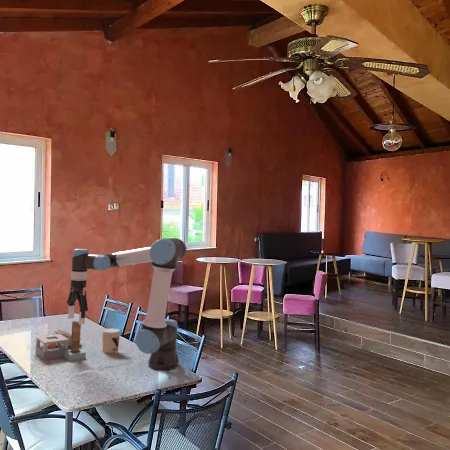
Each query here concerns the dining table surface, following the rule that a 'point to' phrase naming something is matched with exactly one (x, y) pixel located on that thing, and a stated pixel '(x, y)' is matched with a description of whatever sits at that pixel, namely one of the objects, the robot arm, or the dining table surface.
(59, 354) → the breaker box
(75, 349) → the brown wooden bar
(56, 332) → the bowl
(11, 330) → the dining table surface
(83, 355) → the holder
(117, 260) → the robot arm
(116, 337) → the coffee cup
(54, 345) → the button
